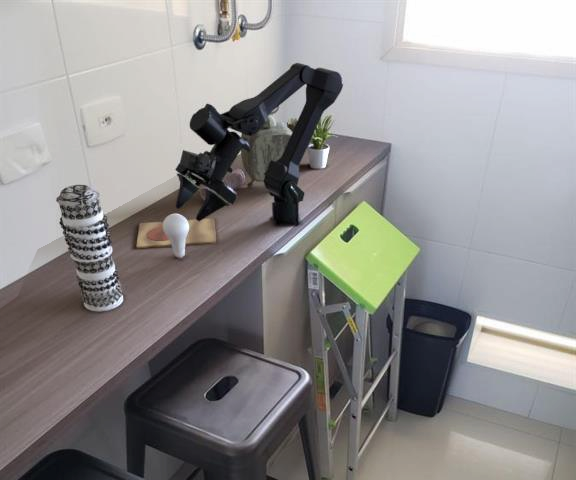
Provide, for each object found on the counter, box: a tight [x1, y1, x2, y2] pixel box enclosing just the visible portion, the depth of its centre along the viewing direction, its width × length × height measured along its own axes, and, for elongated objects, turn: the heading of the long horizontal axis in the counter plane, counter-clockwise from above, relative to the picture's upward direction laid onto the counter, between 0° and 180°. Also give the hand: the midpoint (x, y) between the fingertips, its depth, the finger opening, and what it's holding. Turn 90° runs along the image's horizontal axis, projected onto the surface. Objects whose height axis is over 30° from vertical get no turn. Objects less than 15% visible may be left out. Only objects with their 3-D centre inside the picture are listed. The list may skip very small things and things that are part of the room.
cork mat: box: [135, 217, 217, 249], centre depth 154 cm, size 20×14×1 cm
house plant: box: [296, 112, 338, 170], centre depth 187 cm, size 14×14×16 cm
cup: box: [286, 117, 298, 132], centre depth 206 cm, size 8×7×8 cm
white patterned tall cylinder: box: [55, 184, 124, 313], centre depth 121 cm, size 9×9×25 cm
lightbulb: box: [162, 213, 189, 259], centre depth 141 cm, size 6×6×11 cm
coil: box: [199, 168, 246, 201], centre depth 174 cm, size 5×5×18 cm
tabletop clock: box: [240, 105, 292, 189], centre depth 169 cm, size 14×9×25 cm, turn 108°
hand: (186, 213), depth 139 cm, fingers open, 9 cm apart
